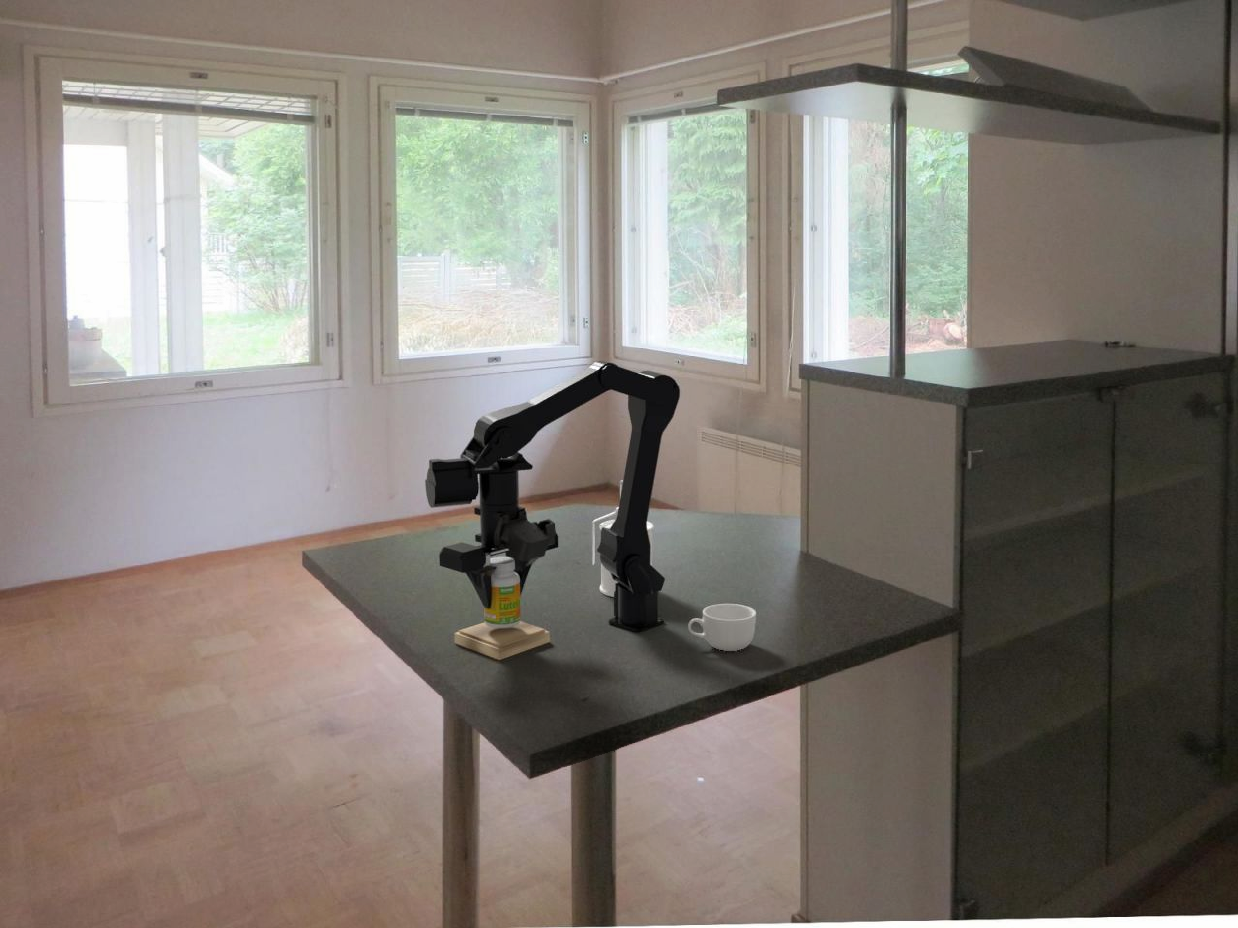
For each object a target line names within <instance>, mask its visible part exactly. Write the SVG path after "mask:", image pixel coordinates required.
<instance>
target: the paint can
mask: <svg viewBox="0 0 1238 928" xmlns="http://www.w3.org/2000/svg"><path fill="white" fill-rule="evenodd" d="M622 485H623V479H621V480H620V481H619V498H620V497H621V491H622ZM618 508H619V506H618V507H616V508H615V510H614V511H613V512H611V513H608V514H605V515H603V516H600V517H599V518H598V517H597V518H595V519H594V520H593V521H592V522H591V546H592V547H591V554H592V555H591V558H592V559H591V562H592V566H594V564H595V561H596V560H595V556H596V555H595V550H596V549H595V544H596V543H595V538H596V537H595V524H596V523H597V522H599V521H602V520H604V519H607V518H609V517H612V516H615V515H616V514H618ZM615 520H616V519H610V520H607V521H604V522H602V523H600V524H599V525H598V526H599V530H600V531H601V529H602V527H605V528H609V529H610V528H611V526H612V525H613V523H614V522H615ZM654 529H655V526H654V524H653V523H652V522H650V521H647V530H648V535H649V540H650V545H651V557H650V565H651V566H652V567H653V531H654ZM600 565H601V566H600V580H601V581H600V585H599V591H600V593H601V594H603V595H605V596H607V597H611V598H614V591H615V583H618V582H617V581H616V580H613V578H612V576H611V573H610V572H609V571H608V570H607V569H605V567H604V566H603V565H602V563H601V562H600Z"/></svg>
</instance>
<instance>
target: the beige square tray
mask: <svg viewBox="0 0 1238 928" xmlns="http://www.w3.org/2000/svg"><path fill="white" fill-rule="evenodd" d="M550 634H551V632H550V631H548V630H546V629H545V628H542V627H540V626H536V625H533V624H530V623H527V622H524V621H522V620H521V621H520V623H519V624H518V625H516V626H513V627H510V628H494V627H490V626H487V625H486V624H485V621H484V622H482V623H478V624H475V625H472V626H469V627H466V628H465V627H464V628H462V629H459V630H458V631H457V632H454V644H456V645H458V646H461V647H464V648H466V649H469V650H472V651H474V652H477V653H479V654H482V655H485V656H488V657H490V658H492V659H495V660H498V661H500V660H504V659H505V658H509V657H511V656H514V655H517V654H520V653H524V652H526V651H529V650H532V649H534V648H536V647H540V646H542V645H546V644H548V643H550V642H551V640H550V638H551V636H550Z"/></svg>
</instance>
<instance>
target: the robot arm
mask: <svg viewBox="0 0 1238 928" xmlns="http://www.w3.org/2000/svg"><path fill="white" fill-rule="evenodd" d="M611 390H612V391H614V392H617V393H621V394H623V395H626V396H627V409H628V414H629V419H630V425H631V433H630V439H629V444H628V451H627V457H626V463H625V469H624V474H623V479H622V480H623V485H622V491H621V497H620V496H619V502H618V507H619V508H618V511H617V513H616V514H617V515H616V519H614V520H615V522H614V523H613V525H612V526H611V528H610V529H609V528H605V527H602V529H601V530H600V542H599V545H598V547H597V548H596V552H597V553H599V555H600V557H599V560H600V564H601V563H602V565H603V566H604V567H605V569H607V570H608V571H609V572H610V573H611V576H612V578H613V580H616V581H617V582H618V583H615V591H614V597H613V616H614V617H612V618H609V619H608V624H611V625H614V626H616V627H621V628H624V629H627V630H631V631H632V632H638V633H639V632H643V631H645V630H648V629H650V628H653V627H656V626H658V625H661V624H664V623H665V618H663V617H660V616H659V592H662V590H663V587H664V583H665V580H666V577H664V576H663V575H662V574H661V573H660V572H659V571H658V569H656V568H654V567H653V565H652V566H651V565H650V557H651V545H650V540H649V535H648V530H647V522H648V517H649V511H650V505H651V501H652V496H653V495H652V494H653V489H654V482H655V478H656V472H657V466H658V462H659V461H658V459H659V455H660V448H661V444H662V437H663V434H664V432H665V430H666V429H667V428H668V426H669V424H670V423H671V421H672V420H673V418H674V416H675V412H676V410H677V407H678V404H679V401H680V398H681V388H680V386H679V385H678V383H677V381H676V380H675V379H674V378H673V377H672V376H670V375H667V374H663V373H660V372H655V371H651V370H643V371H642V370H641V371H639V372H636V371H633V370H630V369H627V368H624V367H621V366H618V364H616V363H613V362H609V361H607V360H606V361H605V360H598V361H595V362H593V363H592V364H591V365H590V366H589V367H587V368H585V369H584V370H582V371H580V372H578V373H576V374H574V375H573V376H571V377H570V378H568V379H566V380H564V381H563V382H560V383H558V384H557V385H555V386H553V387H552V388H550V389H548V390H546V391H544V392H543V393H540V394H538V395H537V396H536V397H533V398H532V399H530V400H528V401H526V402H523V403H521V404H516V405H511V406H508V407H504V408H501V409H498V410H494V411H492V412H489V413H486V414H484V415H482V416H481V417H480V418H478V420H476V422H475V426H474V429H473V436H472V437H471V439H470V441H469V442H468V444H467V445H466V446H465V448H464V449H463V451H462V452H461V454H460V456H459V457H460V458H452V459H449V458H448V459H442V458H441V459H440V458H434V459H432V458H431V459H429V460H428V469H427V473H426V479H425V480H424V483H425V494H426V499H427V502H428V505H429V507H430V508H443V507H453V506H463V505H471V504H472V502H473V500H474V501H475V500H477V497H478V496H479V506H476V507H474V512H473V513H474V514H473V515H477V516H479V517H480V518H479V519H480V521H479V522H480V533H477V534H475V535H474V539H475V540H474V541H475V542H476V543H480V545H477V546H476V545H473V544H470V543H466V542H458V543H454V544H451V545H446V546H443V547H442V549H441V550H440V551H439V558H438V559H439V567H443V568H445V569H449V570H451V571H455V572H458V573H462V574H465V575H466V576H467V578H468V580H470V583H471V584H472V586H473V588H474V590H475V592H476V594H477V596H478V599H479V600H480V602H481V603H482V605H483V608H484V607H485V608H488V609H489V608H491V600H492V589H491V576H492V574H493V573H494V571H495V570H496V568H497V567H495V566H491V565H490V558H492V557H494V556H498V555H501V554H504V553H505V557H511V558H513V559H514V560H515V569H514V570H513V572H516V573H517V574H518V575H519V577H520V598H521V596H522V593H523V591H524V590H523V589H524V588H525V585H526V581H527V578H528V575H529V573H530V570H531V568H532V565H533V564H534V563H535V562H536V561H537V560H539V559H541V558H544V557H545V555H546V554H547V553H546V552H547V551H550V550H551V551H552V550H554V549H557V548H559V534H558V533H557V530H556V523H555V522H554V521H553V520H551V519H549V518H547V519H545V520H540V521H539V522H538V521H533V522H530V521H529V520H528V516H527V515H528V514H527V510H526V507H523V506H520V485H519V484H520V481H519V475H520V474H519V471H529V470H533V468H534V466H533V464H532V463H530V462H529V461H528V460H527V459H525V457H524V455H523V453H521V452H519V451H522V449H523V448H525V447H526V446H527V445H529V443H531V442H532V440H533V439H534V437H536V436H537V434H538V433H539V432H540V431H542V430H543V428H544V427H546V426H548V425H551V424H552V423H553V422H555V421H557V420H559V419H561V418H562V417H564V416H566V415H568V414H569V413H571V412H572V411H575V410H576V409H579V408H580V407H581V406H583V405H585V404H586V403H589V402H590V401H592V400H594V399H596V398H597V397H599V396H600V395H602V394H605V393H606V392H608V391H611Z"/></svg>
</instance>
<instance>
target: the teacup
mask: <svg viewBox="0 0 1238 928" xmlns="http://www.w3.org/2000/svg"><path fill="white" fill-rule="evenodd" d="M756 618H757V611H756V610H755V609H754V608H752V607H750V606H746V605H743V604H739V603H738V604H736V603H719V604H712V605H709V606H706V607H704V608H703V610H702V618H697V617H696V618H692V619H691V620H689V622H688V625H687V629H688V632H689V633H690V634H691V635H693V636H695V637H697V638H700V639H704V640H706V642H707V643H709V646H711V647H712V648H714V649H715V648H716V649H715V650H717V649H719V650H718V651H720V650H724V651H723V652H725V651H735V652H738V651H737V650H740V651H742V650H743V649H745V648H747V647H748V646H749V645H750V643H752V640H753V638H754V635H755V629H756ZM696 622H697V623H698V624H699V625H700V626H701V627H702V629H703V632H702V633H699V632H695V631H694V630H692V624H694V623H696ZM741 649H742V650H741Z"/></svg>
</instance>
